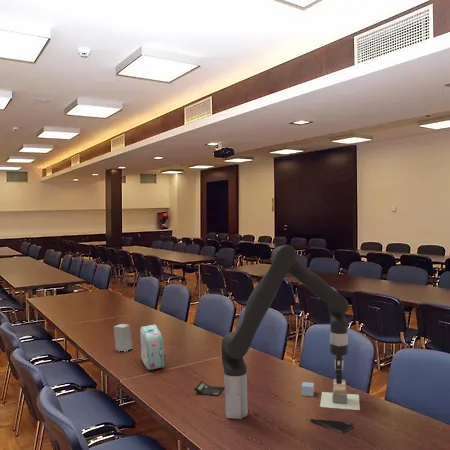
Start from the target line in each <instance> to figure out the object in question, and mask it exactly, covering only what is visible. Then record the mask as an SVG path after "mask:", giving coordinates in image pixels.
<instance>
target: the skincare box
mask: <svg viewBox="0 0 450 450" xmlns="http://www.w3.org/2000/svg"><path fill="white" fill-rule="evenodd" d="M113 334H114V344H115V346H114V347H115V351H116V350H118V351H117V352H120V351H124V352H123V353H127V352H129V351H128V350H130V349H132V350H133V344H132V343H133V342H132V334H131V325H130V324H125V323H119V324H117V325H114V326H113ZM126 351H127V352H126ZM130 351H131V350H130Z"/></svg>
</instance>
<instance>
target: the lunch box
mask: <svg viewBox="0 0 450 450" xmlns="http://www.w3.org/2000/svg"><path fill="white" fill-rule="evenodd" d="M139 333H140V334H139V335H140V351H141V352H140V355H141V361H142V363H143V365H144V366H145V368H146V369H147V370H148V371H151V370H156V369H162V368H164V367H165V362H166V353H165V349H164V339H163V337H162V336H163V335H162V333H161V331H160V330H159V328H158V326H157V325H156V324H155V323H154V324H150V325H145V326H141V327H140V332H139Z"/></svg>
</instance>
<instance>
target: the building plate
mask: <svg viewBox="0 0 450 450" xmlns="http://www.w3.org/2000/svg"><path fill="white" fill-rule="evenodd" d="M332 394H333V392H326V391H322V392H321V396H320V397H321V398H320V403H319V407H320V408H329V409H343V410H353V411H354V410H355V411H360V410H361V409H360V408H361V407H360V395H359V394H357V393H356V394H355V393H354V394H353V393H347V404H341V403H333V399H332Z"/></svg>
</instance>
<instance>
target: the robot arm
mask: <svg viewBox="0 0 450 450" xmlns="http://www.w3.org/2000/svg"><path fill="white" fill-rule="evenodd" d="M271 260H272V263H271V264H270V266H269V269H268V270H267V271H266V273H265V274H264V275H263V277H262V278H261V279H260V280H259V282H257V284H256V285H255V287H254V288H253V290H252V291H251V293H250V295H249V297H248V298H247V302H246V304H245V308H244V314H243V317H242V321H241V323H240V326H239V328H238V329H237V330H236V332H235V331H231V332H227V333H226V334H225V335H223V338H222V340H221V363H222V367H223V374H224V375H223V376H224V377H223V378H224V380H223V381H224V383H223V384H224V412H225V416H226V419H233V420H234V419H235V420H242V419H243V418H245V417H247V416H248V414H249V413H248V411H249V410H248V383H247V382H248V381H247V379H248V377H247V372H248V371H247V364H246V363H245V359H244V357H245V356H246V355H247V354H248V351H249V349H250V346H251V345H252V343H253V340H254V338H255V335H256V333H257V330H258V328H259V327H260V325H261V323H262V322H263V319H264V318H265V316H266V314H267V312H268V311H269V309H270V307H271V305H272V303H273V301H274V300H275V297H276V295H277V293H278V291H279V289H280V287H281V284H282V282H283V281H284V279H285V278H286V275H287V274H290V275H291V276H293V277H294V278H295V279H296V280H298V281H299V282H300V283H301V284H302V285H303V286H304V287H305V288H307V289H308V290H309V291H310V292H311V293H313V294H314V295H315V296H316V297H317V298H318V299H319V300H321V301H323V302H324V303H325V304H327V306H328V313H329V319H330V329H329V331H330V334H329V353H330V354H331V355H334V356H333V357H334V358H333V359H334V360H333V361H334V362H333V363H334V369H335V373H334V374H335V375H336V378H335V379H336V383H337V384H342V380H343V379H342V378H343V370H344V364H345V356H347V355H348V354H349V337H348V336H349V335H348V320H347V319H346V316H345V314H346V313H347V312H348V311H349V309H350V304H349V301H348V300H347V299H346V298H345V297H344V296H342V295H341V294H340V293H338V292H337V291H336V290H335V289H333V287H331V286H330V284H328V283H327V282H326V281H325V279H323V278H322V277H320V276H319V275H317V274H316V273H315V272H313V271H311V270H310V269H309V268H307V267H305V266H304V265H302V263H300V261H298V260H297V252H296V249H295V248H294V247H293V246H291V245H287V244H283V245H279V246H276V247H275V248H274V249H273V250H272V252H271Z"/></svg>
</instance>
